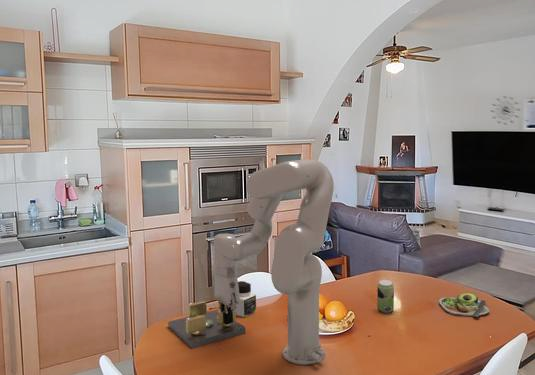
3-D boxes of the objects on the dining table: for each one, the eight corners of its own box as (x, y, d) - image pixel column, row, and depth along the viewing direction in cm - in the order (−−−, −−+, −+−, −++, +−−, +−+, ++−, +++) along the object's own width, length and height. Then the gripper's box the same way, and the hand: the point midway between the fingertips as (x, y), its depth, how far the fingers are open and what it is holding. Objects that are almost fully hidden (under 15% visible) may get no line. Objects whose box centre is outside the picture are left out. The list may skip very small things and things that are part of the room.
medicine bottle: (244, 318, 170) (243, 286, 169) (230, 313, 175) (229, 283, 173) (256, 312, 176) (256, 281, 175) (242, 308, 180) (241, 278, 179)
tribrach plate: (245, 333, 157) (245, 322, 157) (191, 348, 147) (191, 337, 146) (218, 314, 174) (218, 305, 174) (168, 327, 163) (167, 317, 163)
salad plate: (499, 321, 164) (500, 309, 164) (447, 319, 167) (448, 307, 166) (482, 302, 184) (482, 291, 183) (435, 300, 186) (436, 289, 185)
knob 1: (207, 332, 153) (206, 315, 152) (189, 337, 150) (188, 320, 149) (202, 329, 156) (202, 312, 155) (185, 333, 152) (184, 316, 152)
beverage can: (392, 307, 178) (392, 277, 177) (395, 315, 171) (396, 283, 170) (375, 307, 179) (376, 277, 177) (378, 314, 172) (378, 283, 170)
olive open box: (207, 316, 166) (207, 301, 166) (191, 320, 163) (190, 305, 162) (203, 313, 169) (203, 298, 168) (187, 317, 166) (186, 302, 165)
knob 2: (237, 324, 159) (236, 308, 159) (220, 328, 156) (220, 312, 155) (232, 321, 162) (232, 305, 161) (216, 325, 159) (215, 309, 158)
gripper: (246, 273, 152) (247, 327, 154) (224, 263, 165) (225, 312, 167) (226, 278, 148) (228, 332, 150) (205, 266, 161) (206, 317, 163)
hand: (226, 321), depth 159 cm, fingers closed
